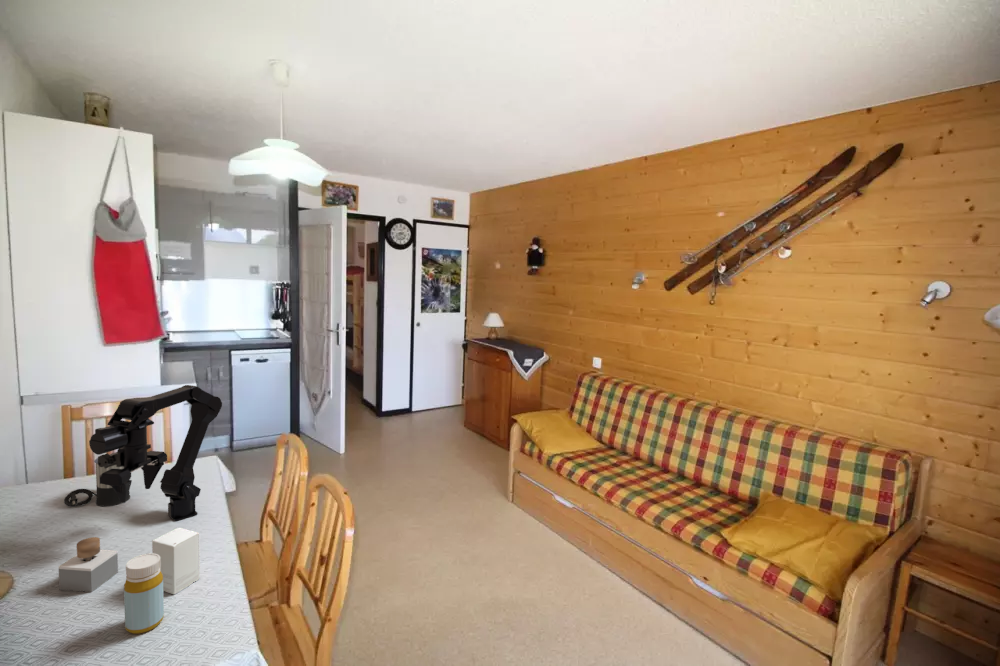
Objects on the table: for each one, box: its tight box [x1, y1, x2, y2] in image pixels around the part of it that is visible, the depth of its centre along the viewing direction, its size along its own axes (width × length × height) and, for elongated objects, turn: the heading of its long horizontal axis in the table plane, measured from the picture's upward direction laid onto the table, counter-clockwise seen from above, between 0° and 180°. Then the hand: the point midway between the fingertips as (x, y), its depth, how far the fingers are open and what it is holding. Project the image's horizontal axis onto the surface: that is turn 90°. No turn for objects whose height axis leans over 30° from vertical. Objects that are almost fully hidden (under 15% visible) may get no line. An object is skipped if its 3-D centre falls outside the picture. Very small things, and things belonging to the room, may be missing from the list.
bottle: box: [123, 553, 165, 635], centre depth 110 cm, size 7×7×15 cm
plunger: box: [76, 536, 101, 561], centre depth 123 cm, size 4×4×9 cm
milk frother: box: [63, 453, 131, 508], centre depth 163 cm, size 14×16×15 cm
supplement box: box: [151, 527, 201, 595], centre depth 124 cm, size 7×7×13 cm
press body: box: [58, 549, 119, 593], centre depth 124 cm, size 8×8×6 cm
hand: (135, 495), depth 143 cm, fingers open, 9 cm apart
